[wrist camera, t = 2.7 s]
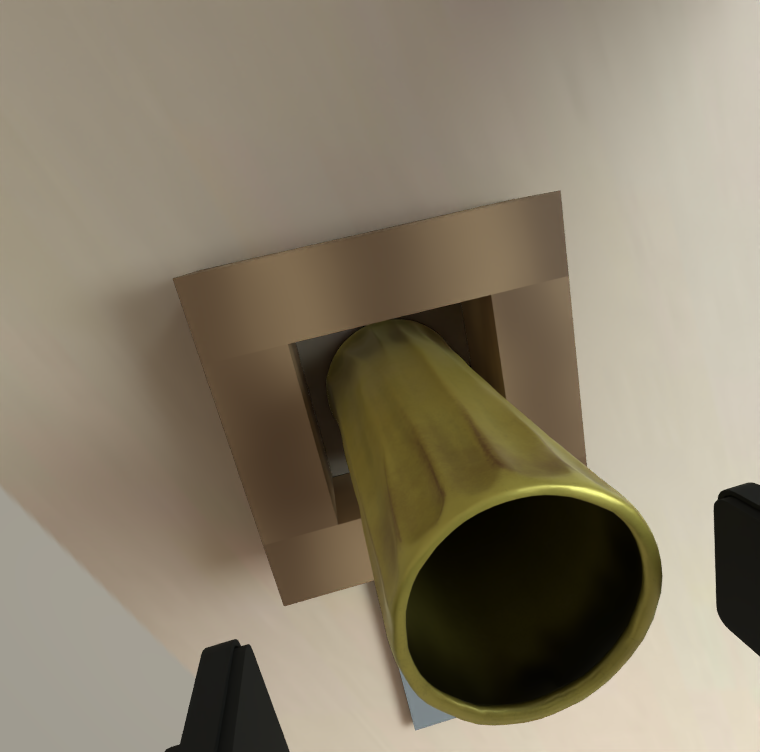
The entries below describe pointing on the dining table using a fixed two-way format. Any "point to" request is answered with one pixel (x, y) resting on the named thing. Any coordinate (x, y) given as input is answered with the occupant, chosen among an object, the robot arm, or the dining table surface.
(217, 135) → the dining table surface
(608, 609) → the vase
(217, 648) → the robot arm
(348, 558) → the collar
